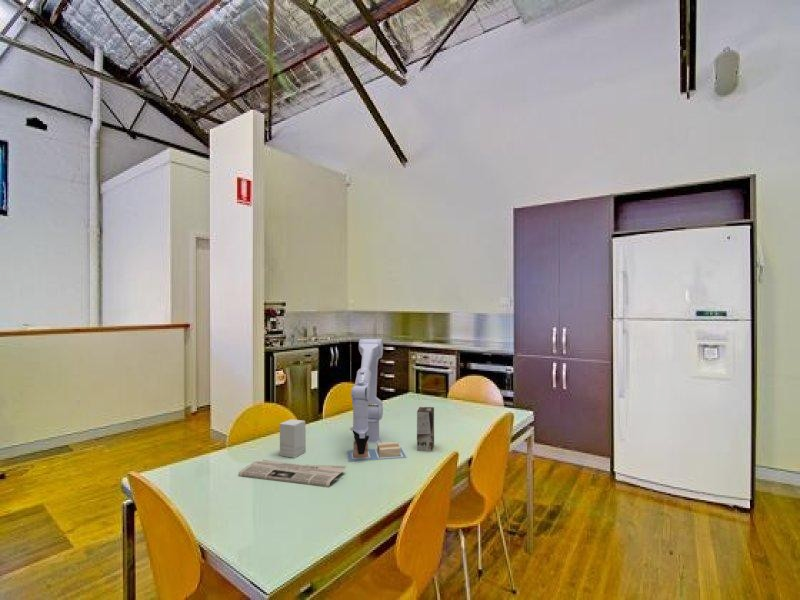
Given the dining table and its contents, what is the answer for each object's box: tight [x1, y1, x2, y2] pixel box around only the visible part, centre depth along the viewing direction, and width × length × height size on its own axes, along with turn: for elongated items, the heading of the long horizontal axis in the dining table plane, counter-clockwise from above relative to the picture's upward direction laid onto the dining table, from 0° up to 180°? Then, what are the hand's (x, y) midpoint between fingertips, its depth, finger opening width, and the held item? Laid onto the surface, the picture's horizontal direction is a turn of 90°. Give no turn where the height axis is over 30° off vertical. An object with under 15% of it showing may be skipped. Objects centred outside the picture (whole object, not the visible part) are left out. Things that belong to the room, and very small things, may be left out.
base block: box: [376, 441, 402, 458], centre depth 162 cm, size 8×8×3 cm
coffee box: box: [416, 406, 435, 453], centre depth 168 cm, size 9×6×16 cm
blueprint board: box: [346, 446, 408, 463], centre depth 161 cm, size 12×22×1 cm, turn 100°
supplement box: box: [279, 418, 307, 459], centre depth 163 cm, size 7×7×13 cm
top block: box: [353, 439, 369, 458], centre depth 160 cm, size 5×5×5 cm
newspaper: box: [237, 459, 347, 488], centre depth 143 cm, size 35×12×4 cm, turn 75°
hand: (360, 451), depth 160 cm, fingers closed on top block, 5 cm apart
